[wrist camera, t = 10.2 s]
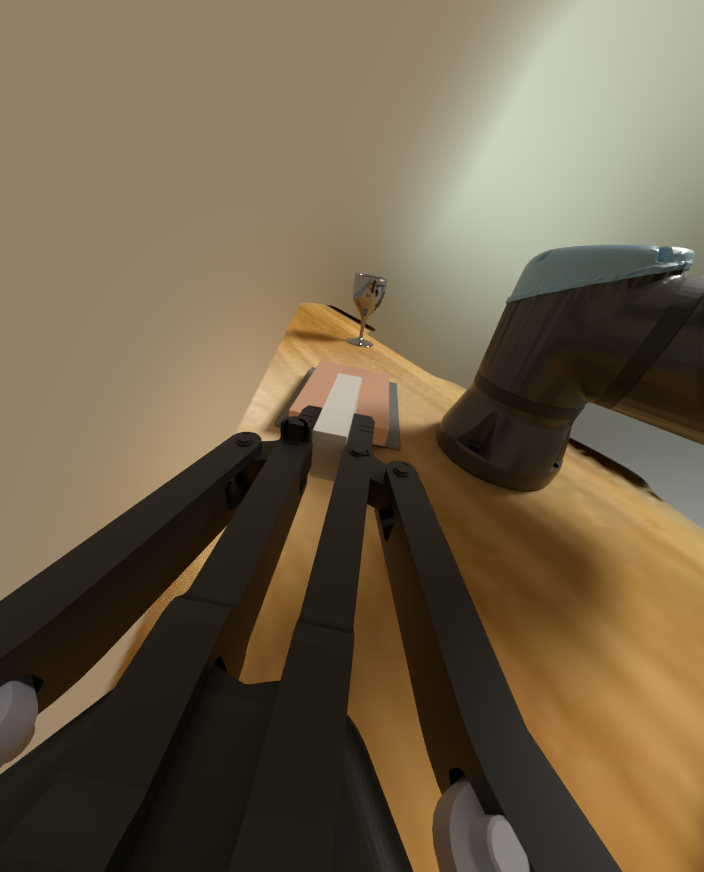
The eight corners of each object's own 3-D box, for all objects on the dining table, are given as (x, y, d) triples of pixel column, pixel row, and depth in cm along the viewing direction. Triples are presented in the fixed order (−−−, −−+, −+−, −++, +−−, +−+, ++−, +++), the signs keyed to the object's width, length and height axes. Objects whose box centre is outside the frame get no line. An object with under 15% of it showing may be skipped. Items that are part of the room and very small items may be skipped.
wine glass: (370, 349, 67) (384, 280, 58) (340, 342, 68) (349, 273, 59) (378, 342, 73) (391, 279, 65) (350, 335, 74) (359, 272, 66)
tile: (384, 447, 33) (385, 387, 48) (389, 429, 32) (389, 373, 47) (288, 428, 33) (319, 374, 48) (288, 410, 32) (320, 360, 47)
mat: (395, 385, 51) (396, 383, 50) (399, 449, 34) (400, 446, 34) (311, 369, 51) (312, 367, 50) (274, 425, 34) (274, 422, 34)
